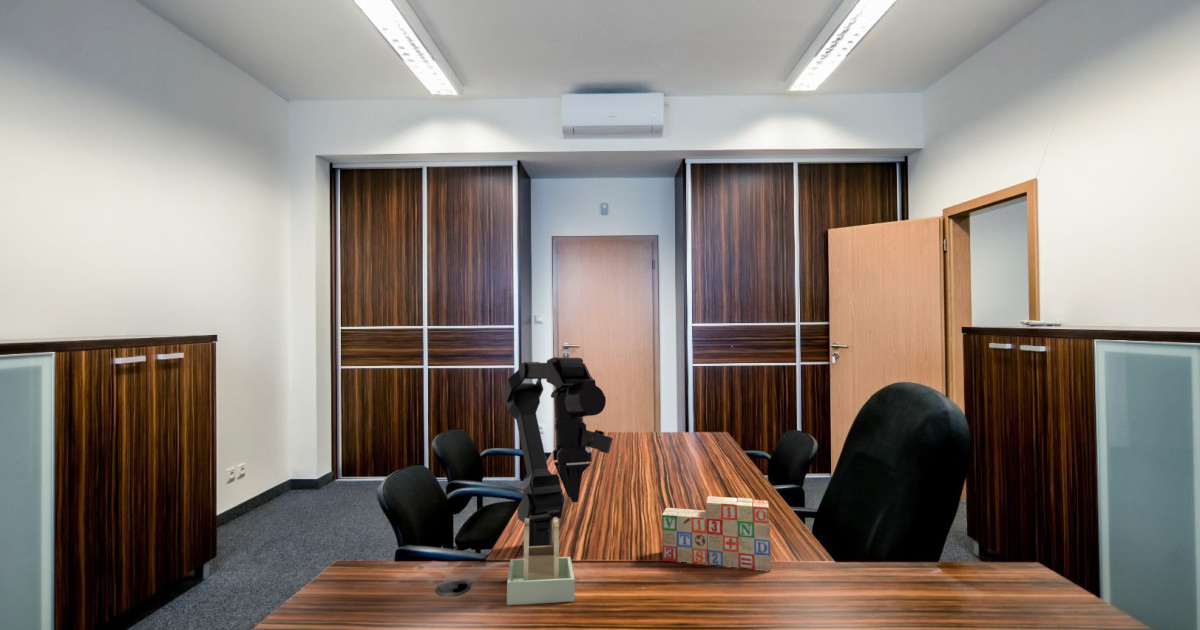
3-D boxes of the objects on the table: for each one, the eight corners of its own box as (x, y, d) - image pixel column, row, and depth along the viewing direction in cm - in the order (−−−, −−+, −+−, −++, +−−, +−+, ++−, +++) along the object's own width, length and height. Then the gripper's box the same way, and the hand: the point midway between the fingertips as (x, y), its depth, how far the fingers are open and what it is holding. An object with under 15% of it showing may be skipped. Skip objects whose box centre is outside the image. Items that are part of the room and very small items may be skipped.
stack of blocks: (661, 561, 106) (660, 499, 107) (666, 551, 112) (665, 492, 113) (771, 572, 100) (769, 506, 101) (770, 561, 106) (768, 499, 107)
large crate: (510, 579, 96) (510, 559, 97) (570, 576, 98) (570, 556, 98) (506, 605, 85) (507, 582, 86) (574, 601, 87) (574, 579, 87)
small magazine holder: (523, 581, 94) (524, 518, 95) (557, 579, 95) (557, 517, 96) (523, 594, 88) (524, 527, 89) (558, 592, 89) (558, 526, 90)
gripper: (615, 414, 97) (621, 501, 94) (601, 418, 115) (606, 491, 112) (556, 417, 96) (560, 506, 92) (551, 421, 114) (554, 495, 110)
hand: (572, 499), depth 102 cm, fingers open, 9 cm apart
